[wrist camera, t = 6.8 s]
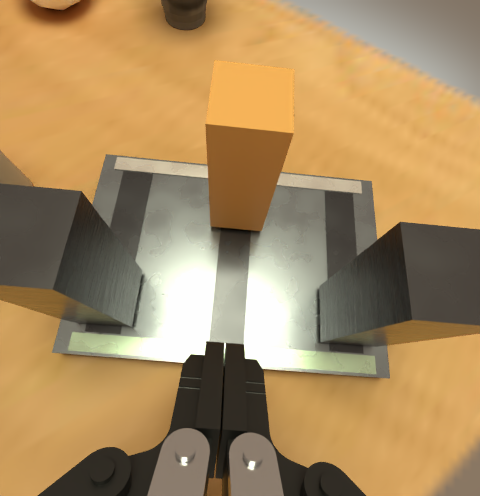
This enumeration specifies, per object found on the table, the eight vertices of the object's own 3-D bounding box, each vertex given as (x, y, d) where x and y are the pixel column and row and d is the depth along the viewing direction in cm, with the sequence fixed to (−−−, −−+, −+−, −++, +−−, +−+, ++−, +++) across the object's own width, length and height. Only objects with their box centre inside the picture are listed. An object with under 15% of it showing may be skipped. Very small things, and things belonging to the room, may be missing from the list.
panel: (62, 353, 22) (-123, 336, 10) (111, 165, 28) (31, 10, 16) (379, 377, 23) (558, 389, 11) (364, 190, 29) (470, 62, 17)
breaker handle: (210, 226, 24) (205, 124, 14) (215, 182, 26) (214, 60, 16) (261, 231, 24) (293, 133, 14) (263, 187, 26) (294, 69, 16)
